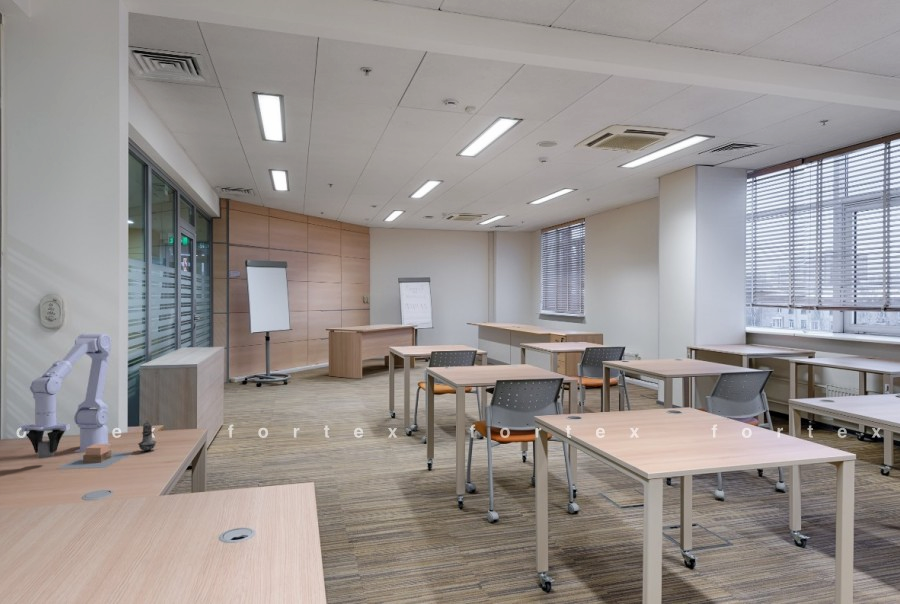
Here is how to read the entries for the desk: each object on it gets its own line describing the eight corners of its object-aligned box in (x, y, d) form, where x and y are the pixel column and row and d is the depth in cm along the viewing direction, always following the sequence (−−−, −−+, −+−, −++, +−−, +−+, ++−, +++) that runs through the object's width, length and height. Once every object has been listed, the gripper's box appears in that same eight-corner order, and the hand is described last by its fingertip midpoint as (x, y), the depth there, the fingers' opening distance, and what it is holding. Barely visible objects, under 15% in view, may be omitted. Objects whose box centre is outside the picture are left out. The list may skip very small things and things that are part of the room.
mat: (89, 454, 191) (89, 453, 191) (134, 453, 192) (134, 452, 192) (56, 469, 173) (56, 468, 173) (105, 468, 174) (105, 467, 174)
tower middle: (94, 451, 185) (94, 444, 185) (109, 450, 185) (109, 443, 185) (85, 455, 180) (85, 448, 180) (100, 454, 180) (100, 447, 180)
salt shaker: (142, 455, 189) (142, 422, 189) (135, 452, 193) (135, 420, 193) (159, 451, 194) (159, 419, 194) (152, 449, 198) (152, 417, 198)
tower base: (93, 457, 186) (93, 450, 186) (111, 457, 186) (111, 450, 186) (83, 462, 180) (83, 455, 180) (101, 462, 180) (101, 455, 180)
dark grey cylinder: (43, 454, 179) (43, 439, 179) (57, 454, 179) (57, 439, 179) (34, 458, 175) (34, 443, 175) (48, 458, 175) (48, 443, 175)
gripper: (14, 415, 172) (14, 455, 172) (59, 414, 173) (60, 454, 173) (30, 410, 179) (30, 449, 179) (73, 409, 180) (74, 448, 180)
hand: (45, 451), depth 177 cm, fingers closed on dark grey cylinder, 4 cm apart
